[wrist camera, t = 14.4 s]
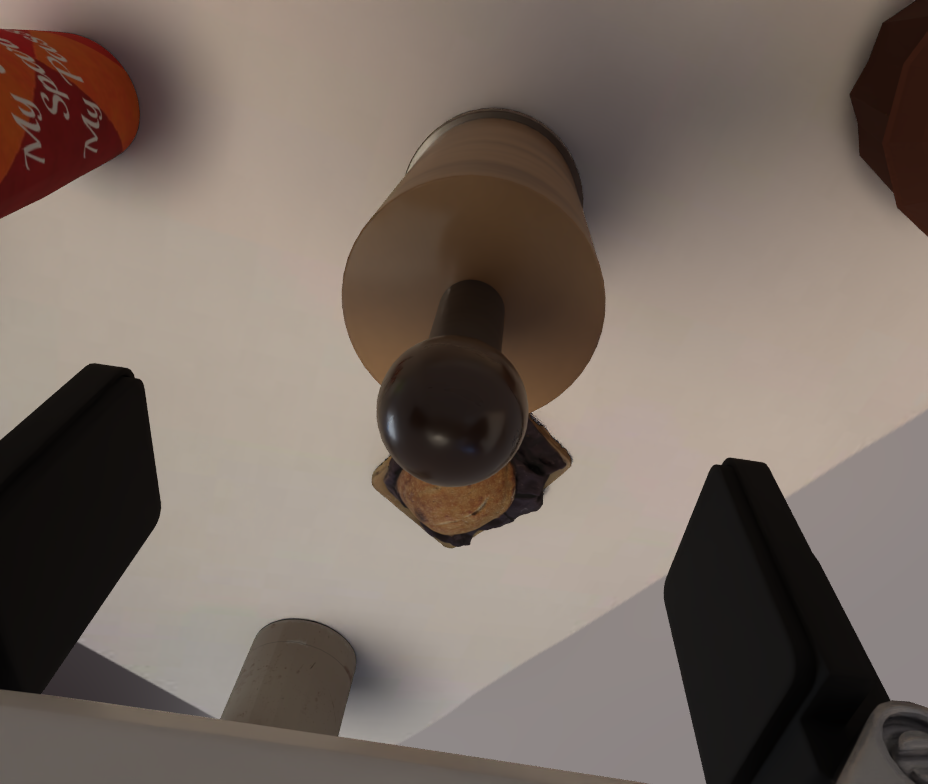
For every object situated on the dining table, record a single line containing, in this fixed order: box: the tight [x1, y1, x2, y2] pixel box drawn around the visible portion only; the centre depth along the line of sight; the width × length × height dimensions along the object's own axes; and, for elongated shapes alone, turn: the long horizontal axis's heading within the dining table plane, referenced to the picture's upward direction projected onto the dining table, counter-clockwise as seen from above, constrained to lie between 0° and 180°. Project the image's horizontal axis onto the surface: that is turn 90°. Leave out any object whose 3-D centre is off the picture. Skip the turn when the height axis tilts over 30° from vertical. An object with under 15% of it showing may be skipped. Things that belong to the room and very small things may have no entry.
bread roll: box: [372, 413, 571, 548], centre depth 39 cm, size 11×8×4 cm
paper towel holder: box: [342, 108, 606, 487], centre depth 23 cm, size 9×9×22 cm
